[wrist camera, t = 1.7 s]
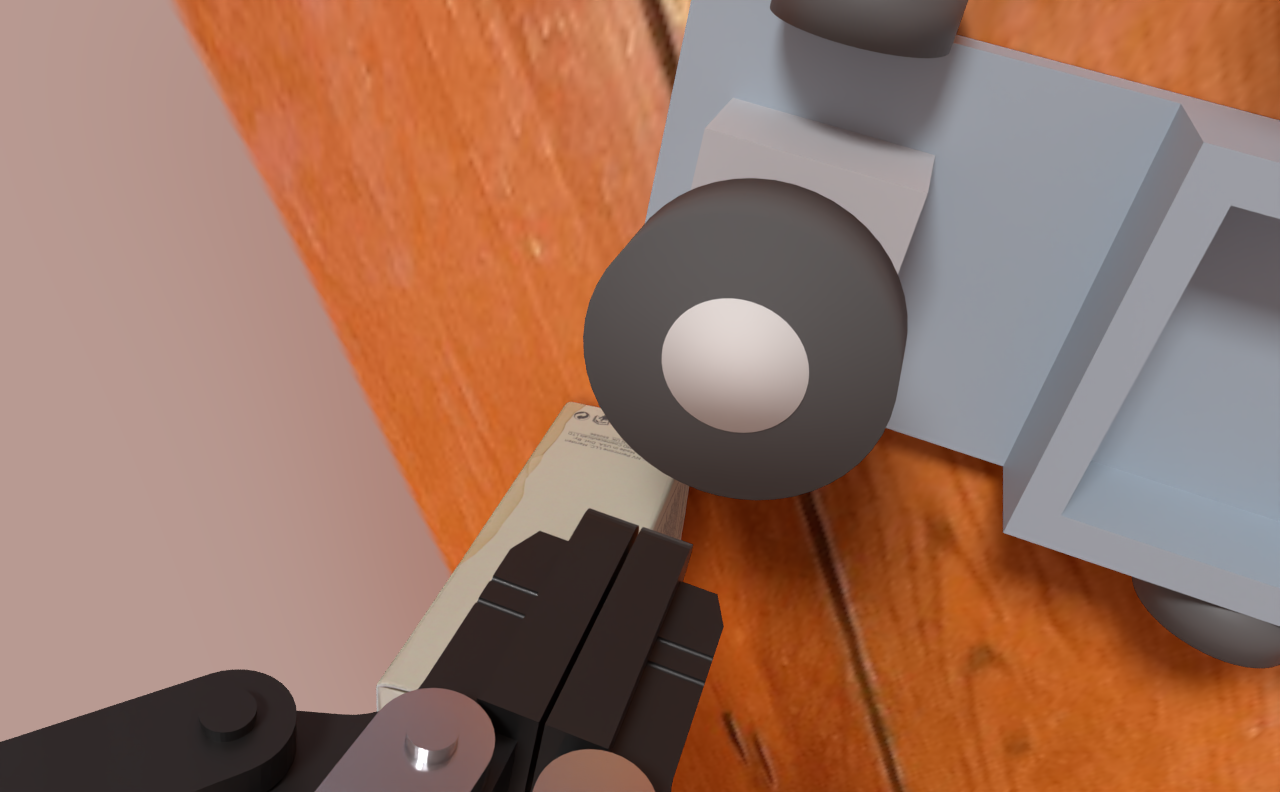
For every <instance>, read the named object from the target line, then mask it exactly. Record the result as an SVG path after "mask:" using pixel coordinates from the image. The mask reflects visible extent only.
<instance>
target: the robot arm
mask: <svg viewBox="0 0 1280 792" xmlns="http://www.w3.org/2000/svg"><path fill="white" fill-rule="evenodd" d="M638 533H639V534H638ZM692 548H693V544H690V543H687V542H685V541H682V540H679V539H676V538H673V537H670V536H668V535H665V534H662V533H659V532H656V531H653V530H651V529H648V528H645V527H642V529H641V530H640V532H639V525H636V524H633V523H630V522H627V521H625V520H622V519H619V518H616V517H613V516H611V515H608V514H605V513H602V512H599V511H596V510H594V509H591V508H589V509H588V510H587V511H586V512H585V514H584V515H583V517H582V519H581V520H580V522H579V524H578V525H577V527H576V529H575V531H574V532H573V534H572V536H571V537H570V539H569V541H567V540H564V539H562V538H559V537H556V536H553V535H550V534H548V533H545V532H542V531H538V532H537V533H535V534H534V535H532V536H530V537H529V538H527V539H525V540H524V541H522V542H521V543H519V544H517V545H516V546H514V547H513V548H511V549H510V550H509V552H508V553H507V555H506V556H505V558H504V559H503V561H502V562H501V564H500V565H499V567H498V569H497V570H496V572H495V573H494V575H493V577H492V580H491V581H489V582H488V584H487V585H486V587H485V588H484V590H483V592H482V593H481V595H480V596H479V599H478V601H477V603H476V602H475V604H474V605H473V607H472V608H471V610H470V611H469V613H468V614H467V616H466V618H465V619H464V621H463V622H462V624H461V625H460V627H459V628H458V630H457V631H456V633H455V634H454V636H453V637H452V639H451V641H450V642H449V644H448V645H447V647H446V648H445V650H444V651H443V653H442V654H441V656H440V657H439V659H438V660H437V662H436V664H435V665H434V667H433V668H432V670H431V671H430V673H429V674H428V676H427V677H426V679H425V680H424V682H423V683H422V684H421V685H420V687H419V688H418V689H417V690H413V691H410V692H407V693H404V694H402V695H400V696H398V697H396V698H394V699H393V700H391V701H390V702H389V703H387V704H386V705H385V706H384V707H383V708H382V709H381V710H380V711H378V712H373V713H369V714H360V715H342V714H329V713H317V712H305V711H296V705H295V702H294V699H293V697H292V695H291V694H290V692H289V690H288V689H287V688H286V687H285V686H284V685H283V684H282V683H281V682H279V681H278V680H276V679H275V678H273V677H271V676H269V675H266V674H264V673H260V672H257V671H250V670H226V671H220V672H216V673H212V674H209V675H205V676H203V677H199V678H196V679H193V680H190V681H187V682H184V683H181V684H178V685H175V686H172V687H169V688H165V689H162V690H159V691H156V692H153V693H150V694H147V695H144V696H141V697H138V698H135V699H132V700H129V701H125V702H123V703H119V704H116V705H113V706H110V707H107V708H104V709H101V710H98V711H95V712H92V713H89V714H85V715H83V716H79V717H77V718H73V719H70V720H67V721H64V722H61V723H58V724H55V725H52V726H49V727H45V728H42V729H39V730H36V731H33V732H30V733H27V734H24V735H21V736H18V737H15V738H12V739H9V740H5V741H2V742H0V792H671V786H672V782H673V777H674V774H675V771H676V768H677V765H678V762H679V759H680V756H681V753H682V750H683V747H684V744H685V741H686V738H687V735H688V732H689V729H690V726H691V723H692V720H693V717H694V714H695V711H696V708H697V705H698V702H699V699H700V696H701V693H702V690H703V687H704V684H705V681H706V678H707V675H708V672H709V669H710V666H711V663H712V660H713V657H714V654H715V651H716V648H717V645H718V642H719V639H720V636H721V633H722V630H723V627H724V626H723V621H722V616H721V611H720V606H719V601H718V596H717V594H715V593H712V592H709V591H706V590H704V589H701V588H698V587H695V586H692V585H690V584H687V583H684V582H683V580H684V576H685V573H686V569H687V566H688V563H689V559H690V556H691V552H692Z"/></svg>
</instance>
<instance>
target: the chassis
mask: <svg viewBox="0 0 1280 792" xmlns="http://www.w3.org/2000/svg"><path fill="white" fill-rule="evenodd" d="M967 2H968V0H691V5H690V9H689V14H688V19H687V24H686V29H685V33H684V38H683V43H682V48H681V53H680V57H679V62H678V67H677V72H676V77H675V81H674V86H673V91H672V96H671V101H670V105H669V110H668V115H667V120H666V125H665V129H664V134H663V139H662V144H661V149H660V153H659V158H658V163H657V168H656V173H655V178H654V182H653V187H652V192H651V197H650V202H649V206H648V211H647V216H646V221H645V223H646V222H647V221H648V220H649V218H650V217H651V216H653V215H654V214H655V213H656V212H657V211H658V210H659V209H661V208H662V207H663V206H664V205H666V204H667V203H669V202H670V201H672V200H673V199H675V198H676V197H678V196H680V195H682V194H684V193H686V192H688V191H690V190H692V189H695V188H697V187H700V186H703V185H707V184H710V183H713V182H718V181H724V180H730V179H741V178H760V179H770V180H777V181H782V182H786V183H791V184H795V185H798V186H801V187H803V188H806V189H809V190H812V191H814V192H817V193H819V194H820V195H822V196H824V197H826V198H828V199H830V200H832V201H834V202H835V203H837V204H838V205H840V206H841V207H843V208H844V209H846V210H847V211H849V212H850V213H851V214H852V215H854V216H855V217H856V218H857V219H858V220H859V221H860V222H861V223H862V224H864V225H865V226H866V227H867V228H868V229H869V231H870V232H871V233H872V234H873V235H874V236H875V238H876V239H877V240H878V241H879V242H880V244H881V245H882V247H883V248H884V250H885V251H886V253H887V254H888V256H889V258H890V259H891V261H892V263H893V265H894V268H895V270H896V272H897V274H898V276H899V279H900V282H901V285H902V289H903V292H904V295H905V301H906V308H907V314H908V334H907V340H906V347H905V353H904V359H903V364H902V370H901V375H900V381H899V386H898V392H897V398H896V402H895V405H894V408H893V412H892V415H891V418H890V420H889V422H888V424H887V426H886V428H888V429H891V430H894V431H897V432H900V433H903V434H906V435H909V436H912V437H915V438H918V439H921V440H924V441H927V442H930V443H933V444H936V445H940V446H943V447H946V448H949V449H952V450H955V451H958V452H961V453H964V454H967V455H970V456H973V457H976V458H979V459H982V460H985V461H988V462H991V463H994V464H997V465H1000V466H1003V533H1005V534H1008V535H1011V536H1014V537H1017V538H1020V539H1023V540H1026V541H1029V542H1032V543H1035V544H1038V545H1041V546H1044V547H1047V548H1050V549H1053V550H1056V551H1059V552H1061V553H1064V554H1067V555H1070V556H1073V557H1076V558H1079V559H1082V560H1085V561H1088V562H1091V563H1094V564H1097V565H1100V566H1103V567H1106V568H1109V569H1112V570H1115V571H1118V572H1121V573H1123V574H1126V575H1129V576H1132V582H1133V586H1134V589H1135V591H1136V593H1137V595H1138V597H1139V599H1140V600H1141V602H1142V603H1143V605H1144V606H1145V608H1146V609H1147V610H1148V611H1149V612H1150V613H1151V615H1152V616H1153V617H1154V618H1155V619H1156V620H1157V621H1158V622H1159V623H1160V624H1161V625H1163V626H1164V627H1165V628H1166V629H1167V630H1169V631H1170V632H1171V633H1172V634H1174V635H1175V636H1177V637H1178V638H1179V639H1181V640H1182V641H1184V642H1185V643H1187V644H1189V645H1190V646H1192V647H1194V648H1196V649H1197V650H1199V651H1201V652H1203V653H1205V654H1207V655H1210V656H1212V657H1214V658H1217V659H1219V660H1222V661H1224V662H1228V663H1231V664H1234V665H1239V666H1243V667H1250V668H1270V667H1274V666H1277V665H1280V120H1276V119H1272V118H1268V117H1265V116H1261V115H1257V114H1253V113H1250V112H1246V111H1242V110H1238V109H1235V108H1231V107H1227V106H1223V105H1219V104H1216V103H1212V102H1208V101H1204V100H1201V99H1197V98H1193V97H1189V96H1186V95H1182V94H1178V93H1174V92H1170V91H1167V90H1163V89H1159V88H1155V87H1152V86H1148V85H1144V84H1140V83H1137V82H1133V81H1129V80H1125V79H1122V78H1118V77H1114V76H1110V75H1106V74H1103V73H1099V72H1095V71H1091V70H1088V69H1084V68H1080V67H1076V66H1073V65H1069V64H1065V63H1061V62H1057V61H1054V60H1050V59H1046V58H1042V57H1039V56H1035V55H1031V54H1027V53H1024V52H1020V51H1016V50H1012V49H1008V48H1005V47H1001V46H997V45H993V44H990V43H986V42H982V41H978V40H975V39H971V38H967V37H963V36H960V35H956V33H957V30H958V28H959V25H960V22H961V19H962V16H963V13H964V11H965V8H966V5H967Z"/></svg>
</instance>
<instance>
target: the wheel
mask: <svg viewBox="0 0 1280 792" xmlns="http://www.w3.org/2000/svg"><path fill="white" fill-rule="evenodd" d="M907 334H908V314H907V308H906V301H905V295H904V292H903V289H902V285H901V282H900V279H899V276H898V274H897V272H896V270H895V268H894V265H893V263H892V261H891V259H890V258H889V256H888V254H887V253H886V251H885V250H884V248H883V247H882V245H881V244H880V242H879V241H878V240H877V239H876V238H875V236H874V235H873V234H872V233H871V232H870V231H869V229H868V228H867V227H866V226H865V225H864V224H862V223H861V222H860V221H859V220H858V219H857V218H856V217H855V216H854V215H852V214H851V213H850V212H849V211H847V210H846V209H844V208H843V207H841V206H840V205H838V204H837V203H835V202H834V201H832V200H830V199H828V198H826V197H824V196H822V195H820V194H819V193H817V192H814V191H812V190H809V189H806V188H803V187H801V186H798V185H795V184H791V183H786V182H782V181H777V180H770V179H760V178H741V179H730V180H724V181H718V182H713V183H710V184H707V185H703V186H700V187H697V188H695V189H692V190H690V191H688V192H686V193H684V194H682V195H680V196H678V197H676V198H675V199H673V200H672V201H670V202H669V203H667V204H666V205H664V206H663V207H662V208H661V209H659V210H658V211H657V212H656V213H655V214H654V215H653V216H651V217H650V218H649V220H648V221H647V222H646V223H645V224H644V225H643V227H642V228H641V229H640V230H639V231H638V232H637V234H636V235H635V236H634V237H633V238H632V240H631V241H630V242H629V243H628V244H627V245H626V247H625V248H624V249H623V250H622V251H621V252H620V254H619V255H618V256H617V257H616V258H615V260H614V261H613V262H612V263H611V264H610V265H609V267H608V268H607V269H606V271H605V272H604V274H603V275H602V277H601V279H600V280H599V282H598V284H597V285H596V288H595V290H594V292H593V295H592V297H591V299H590V302H589V306H588V310H587V314H586V318H585V326H584V335H583V342H584V358H585V364H586V370H587V374H588V377H589V381H590V384H591V387H592V390H593V392H594V395H595V397H596V399H597V401H598V403H599V406H600V407H601V409H602V411H603V412H604V414H605V416H606V418H607V419H608V421H609V422H610V424H611V425H612V426H613V428H614V429H615V430H616V432H617V433H618V434H619V435H620V437H621V438H622V439H623V440H624V441H625V442H626V443H627V444H628V445H629V446H630V447H631V448H632V449H633V450H634V451H635V452H636V453H637V454H638V455H639V456H641V457H642V458H643V459H644V460H645V461H647V462H648V463H649V464H651V465H652V466H654V467H655V468H657V469H658V470H660V471H661V472H662V473H664V474H666V475H668V476H670V477H671V478H673V479H675V480H677V481H679V482H681V483H683V484H686V485H688V486H690V487H693V488H695V489H698V490H701V491H704V492H708V493H711V494H714V495H718V496H724V497H729V498H735V499H746V500H773V499H781V498H787V497H793V496H797V495H801V494H804V493H808V492H811V491H814V490H816V489H818V488H821V487H823V486H825V485H828V484H830V483H831V482H833V481H835V480H837V479H838V478H840V477H842V476H843V475H845V474H846V473H847V472H849V471H850V470H851V469H853V468H854V467H855V466H856V465H858V464H859V463H860V462H861V461H862V460H863V459H864V458H865V457H866V455H867V454H868V453H869V452H870V451H871V450H872V449H873V447H874V446H875V445H876V443H877V442H878V440H879V439H880V437H881V436H882V434H883V432H884V430H885V428H886V426H887V424H888V422H889V420H890V418H891V415H892V412H893V408H894V405H895V402H896V398H897V392H898V386H899V381H900V375H901V370H902V364H903V359H904V353H905V347H906V340H907Z"/></svg>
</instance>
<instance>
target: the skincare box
mask: <svg viewBox="0 0 1280 792" xmlns="http://www.w3.org/2000/svg"><path fill="white" fill-rule="evenodd" d="M688 492H689V486H688V485H686V484H683V483H681V482H679V481H677V480H675V479H673V478H671V477H670V476H668V475H666V474H664V473H662V472H661V471H660V470H658V469H657V468H655V467H654V466H652V465H651V464H649V463H648V462H647V461H645V460H644V459H643V458H642V457H641V456H639V455H638V454H637V453H636V452H635V451H634V450H633V449H632V448H631V447H630V446H629V445H628V444H627V443H626V442H625V441H624V440H623V439H622V438H621V437H620V435H619V434H618V433H617V432H616V430H615V429H614V428H613V426H612V425H611V424H610V422H609V421H608V419H607V418H606V416H605V414H604V412H603V411H602V409H601V408H598V407H594V406H589V405H584V404H579V403H575V402H568V403H566V405H565V406H564V407H563V409H562V410H561V412H560V413H559V415H558V416H557V418H556V419H555V421H554V422H553V424H552V425H551V427H550V428H549V430H548V431H547V433H546V434H545V436H544V438H543V439H542V441H541V442H540V443H539V445H538V446H537V448H536V449H535V451H534V452H533V454H532V455H531V457H530V458H529V460H528V461H527V463H526V464H525V466H524V467H523V469H522V470H521V472H520V473H519V475H518V476H517V478H516V479H515V481H514V482H513V484H512V486H511V487H510V489H509V490H508V492H507V493H506V495H505V496H504V498H503V499H502V500H501V502H500V503H499V505H498V506H497V508H496V509H495V511H494V512H493V514H492V515H491V517H490V518H489V520H488V521H487V523H486V524H485V526H484V527H483V529H482V530H481V532H480V533H479V535H478V536H477V538H476V539H475V541H474V542H473V544H472V545H471V547H470V548H469V550H468V551H467V553H466V554H465V556H464V557H463V559H462V560H461V562H460V563H459V565H458V566H457V568H456V569H455V570H454V572H453V573H452V575H451V576H450V578H449V579H448V581H447V582H446V584H445V585H444V587H443V588H442V590H441V591H440V593H439V594H438V596H437V597H436V599H435V600H434V602H433V603H432V605H431V606H430V608H429V609H428V611H427V612H426V614H425V615H424V617H423V618H422V620H421V621H420V623H419V624H418V626H417V627H416V628H415V630H414V631H413V633H412V634H411V636H410V637H409V639H408V640H407V642H406V643H405V645H404V646H403V648H402V649H401V651H400V652H399V653H398V655H397V656H396V658H395V659H394V661H393V662H392V664H391V665H390V666H389V668H388V669H387V671H386V672H385V674H384V675H383V676H382V678H381V679H380V681H379V682H378V684H377V687H376V696H377V701H376V703H377V712H378V711H380V710H381V709H382V708H383V707H384V706H385V705H386V704H387V703H389V702H390V701H391V700H393V699H394V698H396V697H398V696H400V695H402V694H404V693H407V692H410V691H413V690H417V689H418V688H419V687H420V685H421V684H422V683H423V682H424V680H425V679H426V677H427V676H428V674H429V673H430V671H431V670H432V668H433V667H434V665H435V664H436V662H437V660H438V659H439V657H440V656H441V654H442V653H443V651H444V650H445V648H446V647H447V645H448V644H449V642H450V641H451V639H452V637H453V636H454V634H455V633H456V631H457V630H458V628H459V627H460V625H461V624H462V622H463V621H464V619H465V618H466V616H467V614H468V613H469V611H470V610H471V608H472V607H473V605H474V604H475V602H476V603H477V601H478V599H479V596H480V595H481V593H482V592H483V590H484V588H485V587H486V585H487V584H488V582H489V581H491V580H492V577H493V575H494V573H495V572H496V570H497V569H498V567H499V565H500V564H501V562H502V561H503V559H504V558H505V556H506V555H507V553H508V552H509V550H510V549H511V548H513V547H514V546H516V545H517V544H519V543H521V542H522V541H524V540H525V539H527V538H529V537H530V536H532V535H534V534H535V533H537V532H538V531H542V532H545V533H548V534H550V535H553V536H556V537H559V538H562V539H564V540H567V541H569V539H570V537H571V536H572V534H573V532H574V531H575V529H576V527H577V525H578V524H579V522H580V520H581V519H582V517H583V515H584V514H585V512H586V511H587V510H588V509H589V508H591V509H594V510H596V511H599V512H602V513H605V514H608V515H611V516H613V517H616V518H619V519H622V520H625V521H627V522H630V523H633V524H636V525H639V532H640V530H641V529H642V527H645V528H648V529H651V530H653V531H656V532H659V533H662V534H665V535H668V536H670V537H673V538H676V539H679V540H681V536H682V530H683V524H684V518H685V512H686V504H687V498H688ZM638 534H639V533H638Z"/></svg>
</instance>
